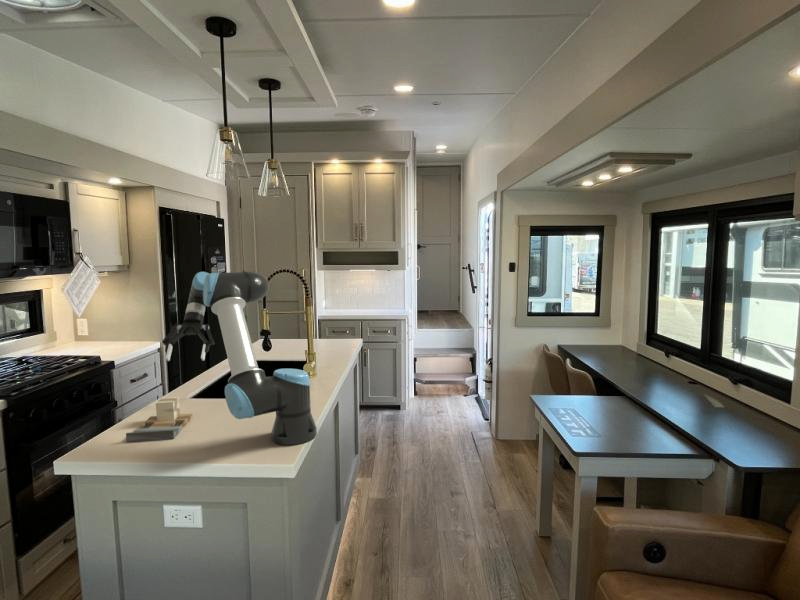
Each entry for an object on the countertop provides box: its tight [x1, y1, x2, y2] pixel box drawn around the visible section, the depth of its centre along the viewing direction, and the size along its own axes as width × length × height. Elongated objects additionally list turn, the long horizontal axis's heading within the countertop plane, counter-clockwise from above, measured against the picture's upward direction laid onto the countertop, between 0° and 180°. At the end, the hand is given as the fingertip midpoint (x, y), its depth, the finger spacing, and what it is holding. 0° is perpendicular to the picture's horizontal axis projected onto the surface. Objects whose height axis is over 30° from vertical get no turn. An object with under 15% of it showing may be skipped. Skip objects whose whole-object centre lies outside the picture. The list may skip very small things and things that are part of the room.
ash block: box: [155, 396, 181, 421], centre depth 168 cm, size 6×6×7 cm
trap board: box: [125, 413, 194, 443], centre depth 161 cm, size 20×15×3 cm
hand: (185, 359), depth 183 cm, fingers open, 13 cm apart
